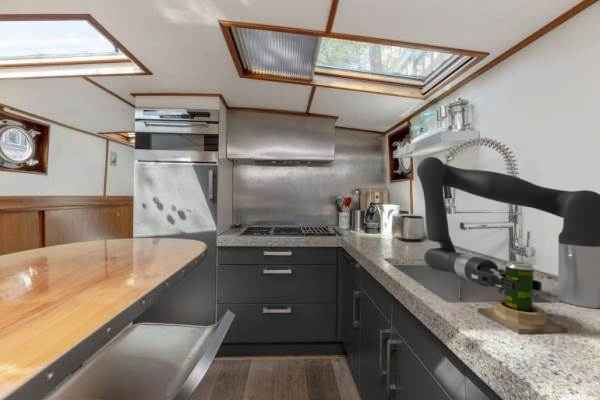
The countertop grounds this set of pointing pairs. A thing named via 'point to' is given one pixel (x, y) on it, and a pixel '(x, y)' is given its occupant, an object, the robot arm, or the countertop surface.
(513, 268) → the beer can
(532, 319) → the socket board
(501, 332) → the countertop surface
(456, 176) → the robot arm
